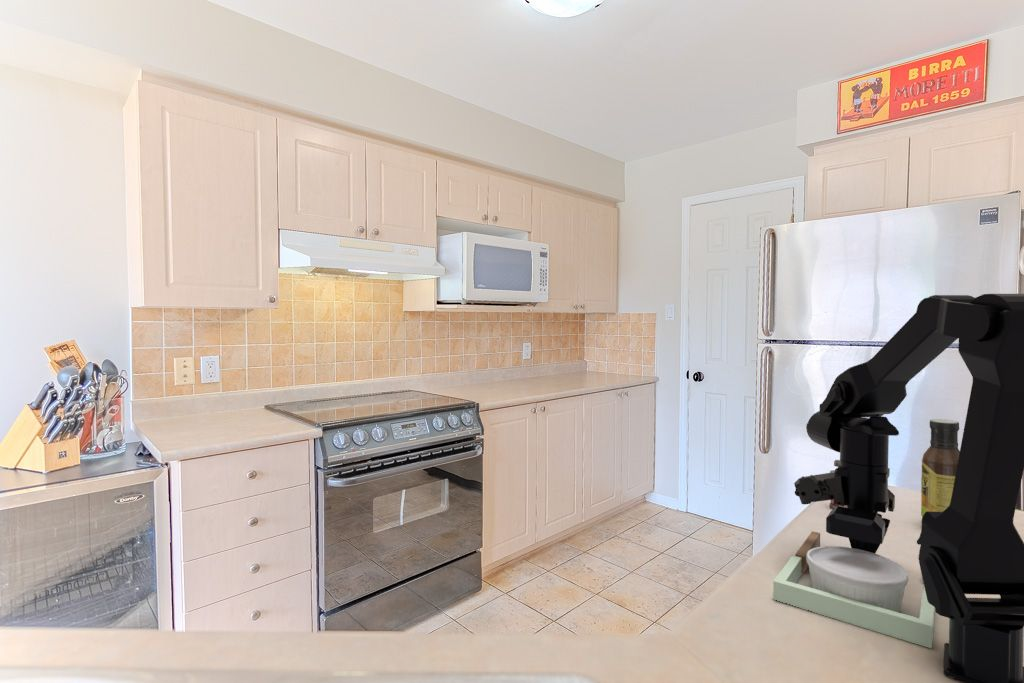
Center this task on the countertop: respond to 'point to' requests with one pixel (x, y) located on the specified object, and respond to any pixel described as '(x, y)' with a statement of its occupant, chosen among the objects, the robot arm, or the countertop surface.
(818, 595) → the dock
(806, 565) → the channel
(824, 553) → the ramekin
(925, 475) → the sauce bottle
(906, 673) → the countertop surface
